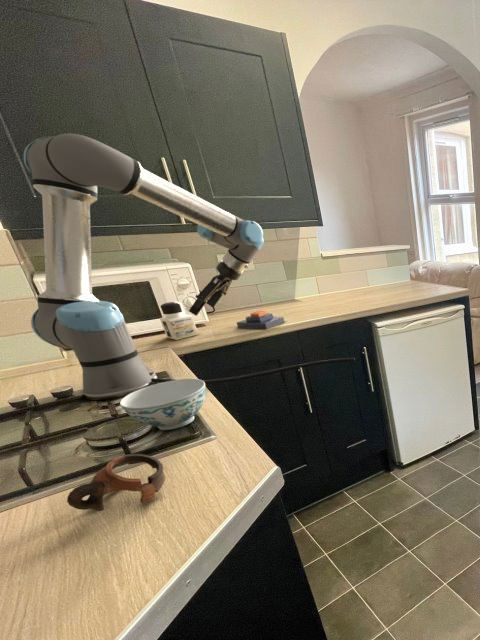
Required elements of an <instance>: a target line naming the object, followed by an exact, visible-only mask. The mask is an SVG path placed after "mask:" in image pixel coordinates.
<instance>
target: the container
mask: <svg viewBox="0 0 480 640" xmlns="http://www.w3.org/2000/svg"><path fill="white" fill-rule="evenodd" d="M160 309H161V312H162V314H163V317H160V318H159V320H160V323H161V325H162V328H163V331H164V333H165V336H166V338H168V339H171V340H175V341H178V340H183V339H187V338H190V337H194V336H198V335H199V331H198V328H197V326H196V323H195V320H194V318H193V315H191V314H186V310H185V308H184V304H183V303H182V302H181V301H169V302H165V303H162V304H160Z"/></svg>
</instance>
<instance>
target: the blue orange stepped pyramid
mask: <svg viewBox="0 0 480 640" xmlns="http://www.w3.org/2000/svg"><path fill="white" fill-rule="evenodd" d="M266 314H267V315H264V316H261V317H251V315H249V316H246V317H245V319H243V320H239V321H237V322H236V325H237V328H238V329H260V330H261V329H263V330H268V329H270V328H272V327H275V326H278V325H281V324H284V323H285V318H284V316H274V315H273V313H271V312H270V313H267V312H266Z"/></svg>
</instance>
